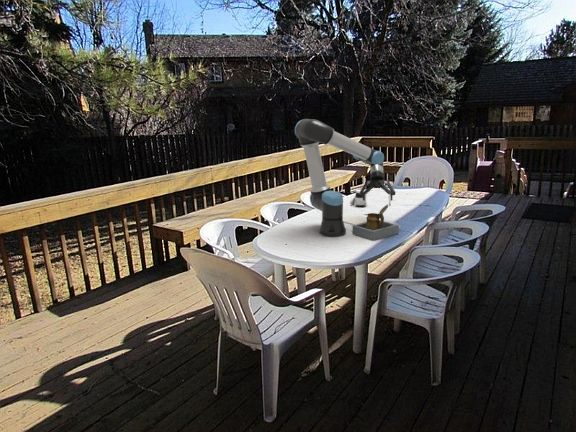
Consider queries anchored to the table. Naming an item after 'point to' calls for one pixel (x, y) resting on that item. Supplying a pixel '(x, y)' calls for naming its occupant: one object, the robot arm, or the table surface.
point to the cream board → (354, 219)
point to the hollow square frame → (375, 231)
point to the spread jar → (358, 200)
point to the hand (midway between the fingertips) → (377, 204)
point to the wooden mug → (375, 219)
